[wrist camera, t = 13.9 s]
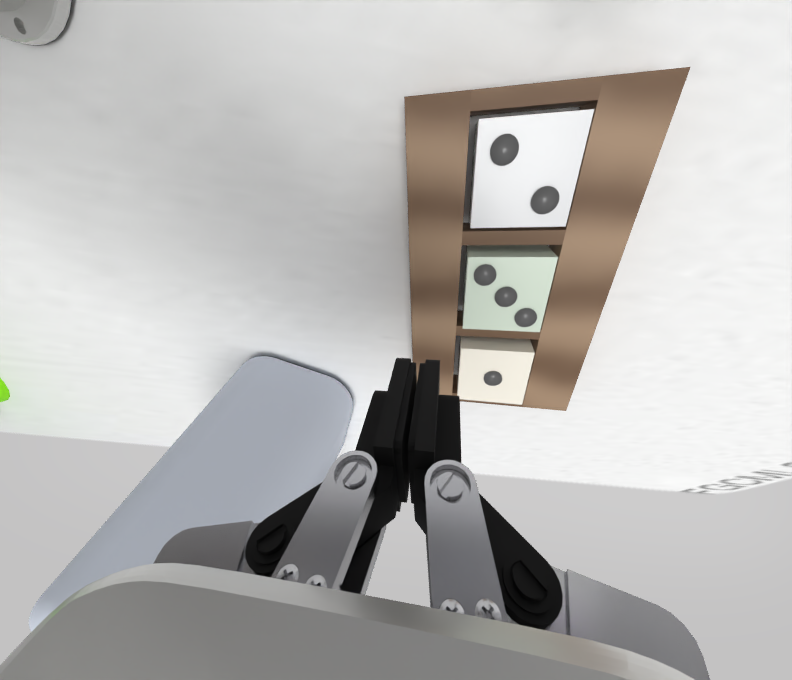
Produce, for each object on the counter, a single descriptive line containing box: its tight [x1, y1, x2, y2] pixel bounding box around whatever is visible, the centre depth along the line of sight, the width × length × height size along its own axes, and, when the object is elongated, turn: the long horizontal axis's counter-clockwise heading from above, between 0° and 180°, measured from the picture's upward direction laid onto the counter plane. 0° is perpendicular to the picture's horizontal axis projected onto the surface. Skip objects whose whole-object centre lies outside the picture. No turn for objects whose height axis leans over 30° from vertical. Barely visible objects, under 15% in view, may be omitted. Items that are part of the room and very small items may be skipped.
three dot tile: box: [463, 245, 558, 332], centre depth 24 cm, size 6×6×4 cm
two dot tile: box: [469, 109, 594, 228], centre depth 19 cm, size 6×6×4 cm
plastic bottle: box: [29, 356, 353, 632], centre depth 29 cm, size 15×15×28 cm
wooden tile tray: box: [405, 67, 690, 411], centre depth 24 cm, size 25×15×3 cm, turn 3°
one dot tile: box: [457, 336, 535, 405], centre depth 28 cm, size 6×6×4 cm
